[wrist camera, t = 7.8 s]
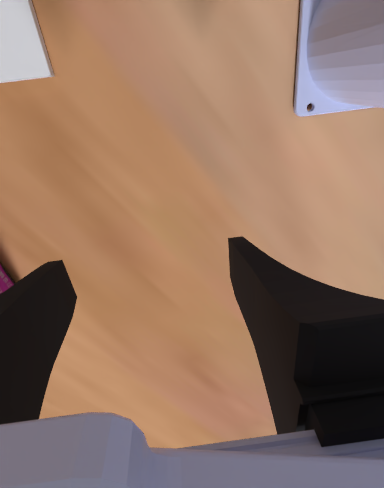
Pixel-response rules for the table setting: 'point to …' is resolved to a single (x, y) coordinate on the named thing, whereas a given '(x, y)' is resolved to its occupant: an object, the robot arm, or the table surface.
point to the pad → (21, 43)
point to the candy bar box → (5, 280)
